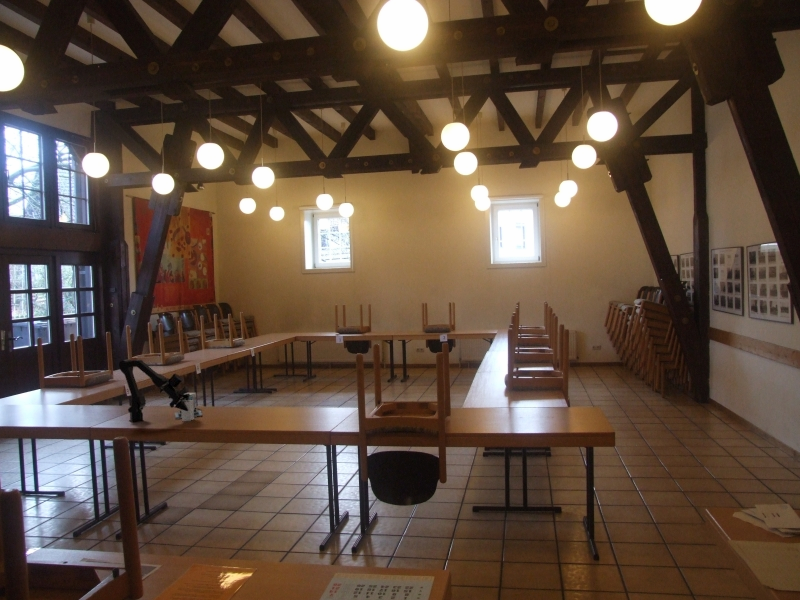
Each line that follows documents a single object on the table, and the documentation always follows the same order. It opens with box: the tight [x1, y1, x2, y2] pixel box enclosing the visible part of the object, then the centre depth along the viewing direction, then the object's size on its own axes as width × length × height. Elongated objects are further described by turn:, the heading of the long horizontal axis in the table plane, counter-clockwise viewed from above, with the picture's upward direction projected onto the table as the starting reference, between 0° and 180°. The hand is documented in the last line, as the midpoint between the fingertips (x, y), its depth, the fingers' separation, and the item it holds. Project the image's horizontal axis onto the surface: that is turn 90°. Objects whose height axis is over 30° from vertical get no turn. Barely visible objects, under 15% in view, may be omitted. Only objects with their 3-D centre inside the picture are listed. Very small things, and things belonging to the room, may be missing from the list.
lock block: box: [181, 400, 195, 422], centre depth 363 cm, size 6×6×12 cm
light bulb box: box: [179, 392, 198, 411], centre depth 397 cm, size 11×7×11 cm, turn 168°
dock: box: [174, 408, 203, 420], centre depth 377 cm, size 16×16×3 cm
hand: (189, 409), depth 363 cm, fingers closed on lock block, 5 cm apart
